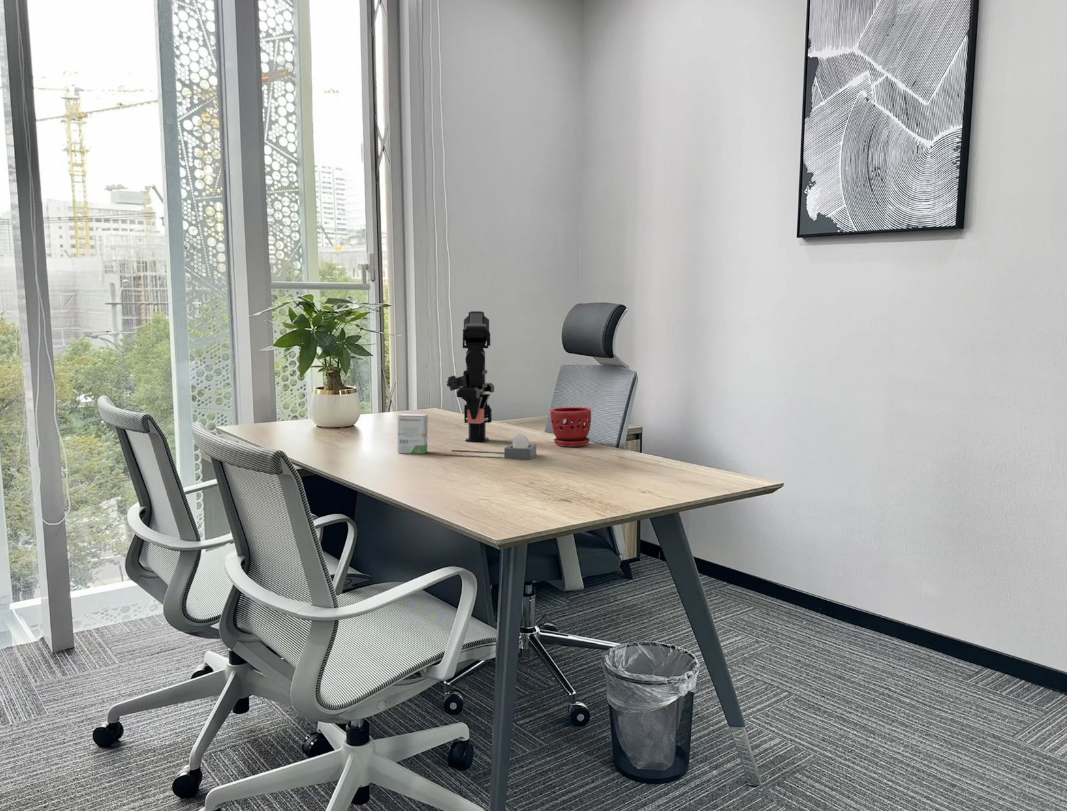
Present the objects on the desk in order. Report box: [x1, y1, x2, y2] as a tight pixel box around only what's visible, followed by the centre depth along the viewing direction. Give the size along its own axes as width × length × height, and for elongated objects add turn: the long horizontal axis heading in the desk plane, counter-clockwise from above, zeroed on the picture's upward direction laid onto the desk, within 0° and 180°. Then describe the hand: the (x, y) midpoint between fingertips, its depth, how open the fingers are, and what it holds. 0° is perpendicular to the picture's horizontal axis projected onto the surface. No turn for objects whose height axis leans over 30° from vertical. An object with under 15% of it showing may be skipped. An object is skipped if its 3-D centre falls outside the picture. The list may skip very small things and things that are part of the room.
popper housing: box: [503, 443, 537, 460], centre depth 260 cm, size 8×8×3 cm
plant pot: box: [550, 406, 592, 448], centre depth 281 cm, size 13×13×12 cm
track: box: [443, 449, 504, 459], centre depth 263 cm, size 9×18×1 cm, turn 77°
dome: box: [512, 433, 530, 449], centre depth 260 cm, size 5×5×6 cm
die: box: [466, 409, 484, 424], centre depth 262 cm, size 4×4×4 cm
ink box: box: [397, 413, 429, 455], centre depth 266 cm, size 9×5×12 cm, turn 84°
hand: (475, 418), depth 262 cm, fingers closed on die, 4 cm apart
